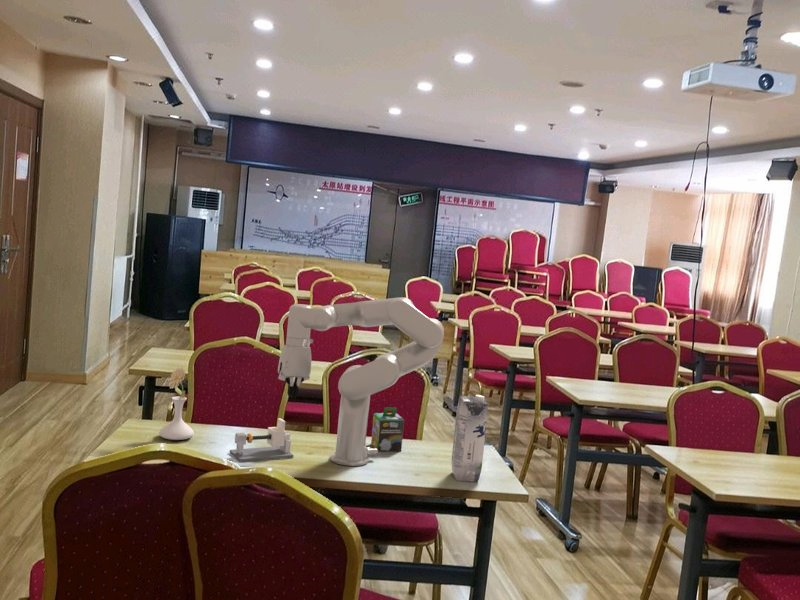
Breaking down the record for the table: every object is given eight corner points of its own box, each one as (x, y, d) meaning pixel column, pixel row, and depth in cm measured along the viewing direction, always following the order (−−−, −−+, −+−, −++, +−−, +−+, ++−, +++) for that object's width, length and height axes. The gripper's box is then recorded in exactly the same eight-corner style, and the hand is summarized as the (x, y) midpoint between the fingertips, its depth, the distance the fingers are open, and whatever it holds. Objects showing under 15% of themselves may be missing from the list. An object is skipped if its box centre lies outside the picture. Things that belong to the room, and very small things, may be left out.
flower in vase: (158, 433, 251) (163, 361, 249) (192, 433, 255) (197, 362, 253) (159, 444, 239) (164, 369, 237) (195, 444, 243) (201, 370, 241)
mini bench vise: (281, 448, 247) (283, 428, 247) (293, 457, 239) (295, 436, 238) (229, 452, 238) (231, 431, 237) (240, 462, 229) (241, 440, 229)
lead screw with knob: (285, 438, 244) (286, 430, 244) (289, 441, 241) (290, 432, 241) (239, 442, 235) (240, 432, 235) (242, 444, 233) (243, 435, 233)
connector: (241, 452, 236) (243, 432, 236) (244, 455, 234) (246, 435, 233) (233, 453, 235) (235, 433, 234) (237, 455, 232) (238, 435, 232)
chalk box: (394, 443, 267) (398, 403, 266) (402, 451, 258) (406, 410, 257) (369, 443, 264) (373, 403, 263) (376, 451, 255) (381, 409, 254)
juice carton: (453, 481, 231) (462, 397, 228) (449, 471, 241) (457, 390, 239) (481, 483, 231) (490, 399, 229) (475, 472, 242) (484, 392, 240)
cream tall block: (278, 441, 244) (280, 417, 243) (283, 445, 239) (286, 421, 239) (266, 442, 241) (268, 418, 241) (272, 446, 237) (274, 422, 237)
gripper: (313, 340, 247) (308, 394, 249) (271, 339, 239) (266, 395, 241) (323, 344, 241) (317, 399, 243) (280, 344, 233) (275, 400, 235)
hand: (292, 397), depth 242 cm, fingers closed
